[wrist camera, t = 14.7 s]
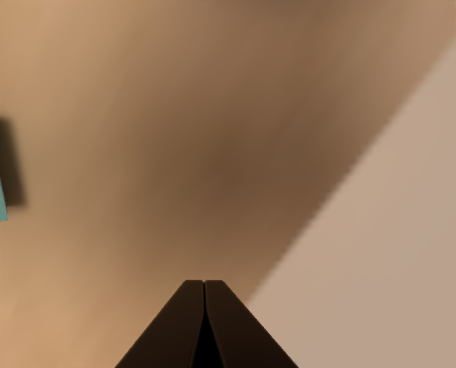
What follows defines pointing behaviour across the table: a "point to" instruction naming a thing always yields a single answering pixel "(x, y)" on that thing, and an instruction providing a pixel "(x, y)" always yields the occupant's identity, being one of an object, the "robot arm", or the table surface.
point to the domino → (2, 205)
